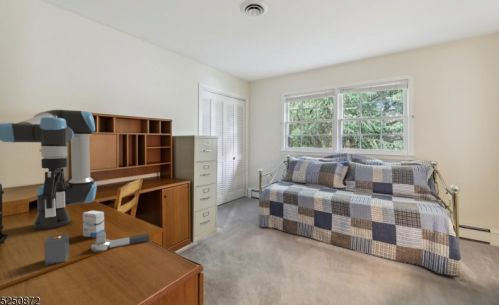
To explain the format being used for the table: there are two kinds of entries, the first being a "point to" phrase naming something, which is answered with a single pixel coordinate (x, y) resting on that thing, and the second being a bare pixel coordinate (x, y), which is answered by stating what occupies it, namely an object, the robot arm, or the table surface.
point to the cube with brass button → (56, 249)
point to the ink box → (93, 223)
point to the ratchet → (116, 241)
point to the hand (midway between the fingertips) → (56, 211)
